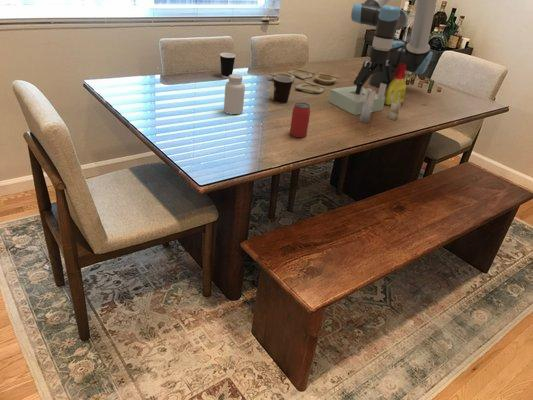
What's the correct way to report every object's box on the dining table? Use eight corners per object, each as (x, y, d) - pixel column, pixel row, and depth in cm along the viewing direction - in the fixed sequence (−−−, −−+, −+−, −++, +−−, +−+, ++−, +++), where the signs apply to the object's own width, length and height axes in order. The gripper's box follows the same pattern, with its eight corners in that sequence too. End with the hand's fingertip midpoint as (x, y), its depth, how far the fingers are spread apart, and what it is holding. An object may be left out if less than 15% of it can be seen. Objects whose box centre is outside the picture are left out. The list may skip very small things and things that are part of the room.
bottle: (387, 107, 207) (398, 65, 196) (378, 102, 212) (388, 61, 201) (405, 105, 213) (416, 63, 202) (395, 100, 217) (406, 60, 207)
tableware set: (314, 97, 210) (316, 89, 207) (263, 82, 221) (264, 74, 219) (343, 82, 236) (344, 75, 234) (296, 70, 247) (297, 62, 245)
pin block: (355, 97, 215) (358, 85, 211) (382, 110, 202) (385, 97, 199) (328, 101, 205) (330, 88, 202) (354, 115, 193) (357, 102, 190)
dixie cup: (215, 76, 220) (216, 54, 214) (224, 73, 226) (225, 51, 220) (228, 80, 217) (229, 58, 211) (237, 77, 223) (238, 55, 217)
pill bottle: (228, 116, 177) (230, 79, 169) (220, 108, 183) (222, 73, 175) (246, 114, 180) (248, 78, 172) (238, 107, 186) (240, 72, 178)
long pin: (363, 118, 190) (371, 87, 183) (370, 122, 188) (378, 90, 180) (357, 120, 188) (364, 88, 181) (363, 123, 186) (371, 91, 178)
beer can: (288, 130, 170) (292, 101, 164) (304, 131, 171) (309, 102, 165) (290, 137, 165) (294, 107, 159) (307, 138, 166) (312, 108, 159)
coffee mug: (288, 105, 195) (291, 83, 190) (269, 102, 196) (272, 80, 191) (292, 97, 205) (295, 76, 200) (274, 94, 206) (276, 73, 201)
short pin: (392, 116, 197) (396, 101, 194) (398, 119, 195) (402, 104, 191) (386, 117, 195) (390, 102, 192) (392, 120, 193) (396, 105, 189)
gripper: (395, 45, 181) (382, 94, 192) (351, 47, 168) (340, 100, 179) (409, 49, 176) (395, 100, 187) (365, 52, 163) (353, 106, 174)
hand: (368, 100), depth 183 cm, fingers open, 13 cm apart
